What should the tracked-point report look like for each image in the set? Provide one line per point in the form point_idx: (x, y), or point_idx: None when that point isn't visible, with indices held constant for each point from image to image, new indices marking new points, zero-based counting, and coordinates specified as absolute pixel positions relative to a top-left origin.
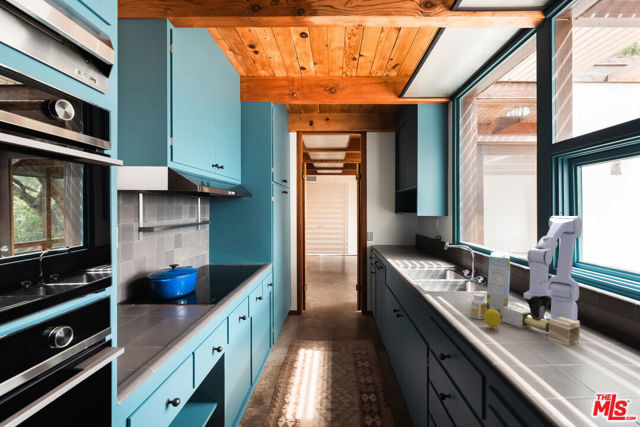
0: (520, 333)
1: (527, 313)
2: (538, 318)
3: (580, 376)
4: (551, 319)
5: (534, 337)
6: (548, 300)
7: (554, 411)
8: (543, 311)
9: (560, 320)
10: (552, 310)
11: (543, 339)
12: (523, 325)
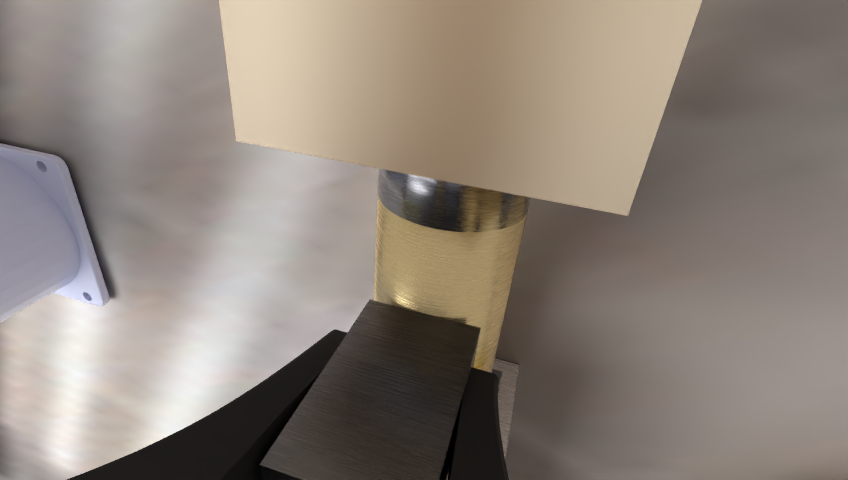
0: (701, 340)
1: None
2: (476, 345)
3: None
4: (615, 181)
5: (715, 221)
6: None
7: None
8: (343, 382)
9: (502, 35)
10: (2, 313)
11: (700, 137)
12: None
